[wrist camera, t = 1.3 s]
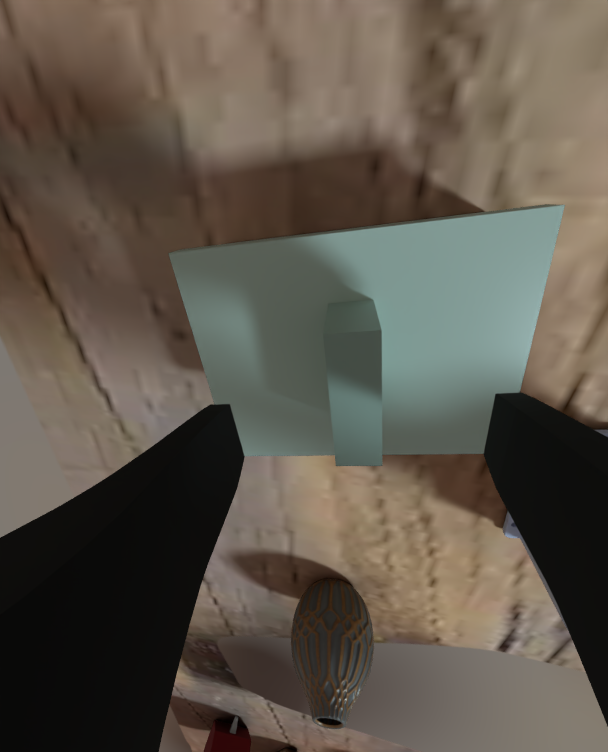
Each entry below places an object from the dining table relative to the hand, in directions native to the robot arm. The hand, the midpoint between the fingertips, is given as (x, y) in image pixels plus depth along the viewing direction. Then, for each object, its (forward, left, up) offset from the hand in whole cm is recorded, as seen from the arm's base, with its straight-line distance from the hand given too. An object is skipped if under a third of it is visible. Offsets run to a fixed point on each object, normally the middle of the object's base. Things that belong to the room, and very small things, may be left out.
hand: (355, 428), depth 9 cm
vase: (-27, +3, -9) cm, 28 cm away
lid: (0, 0, -6) cm, 6 cm away
